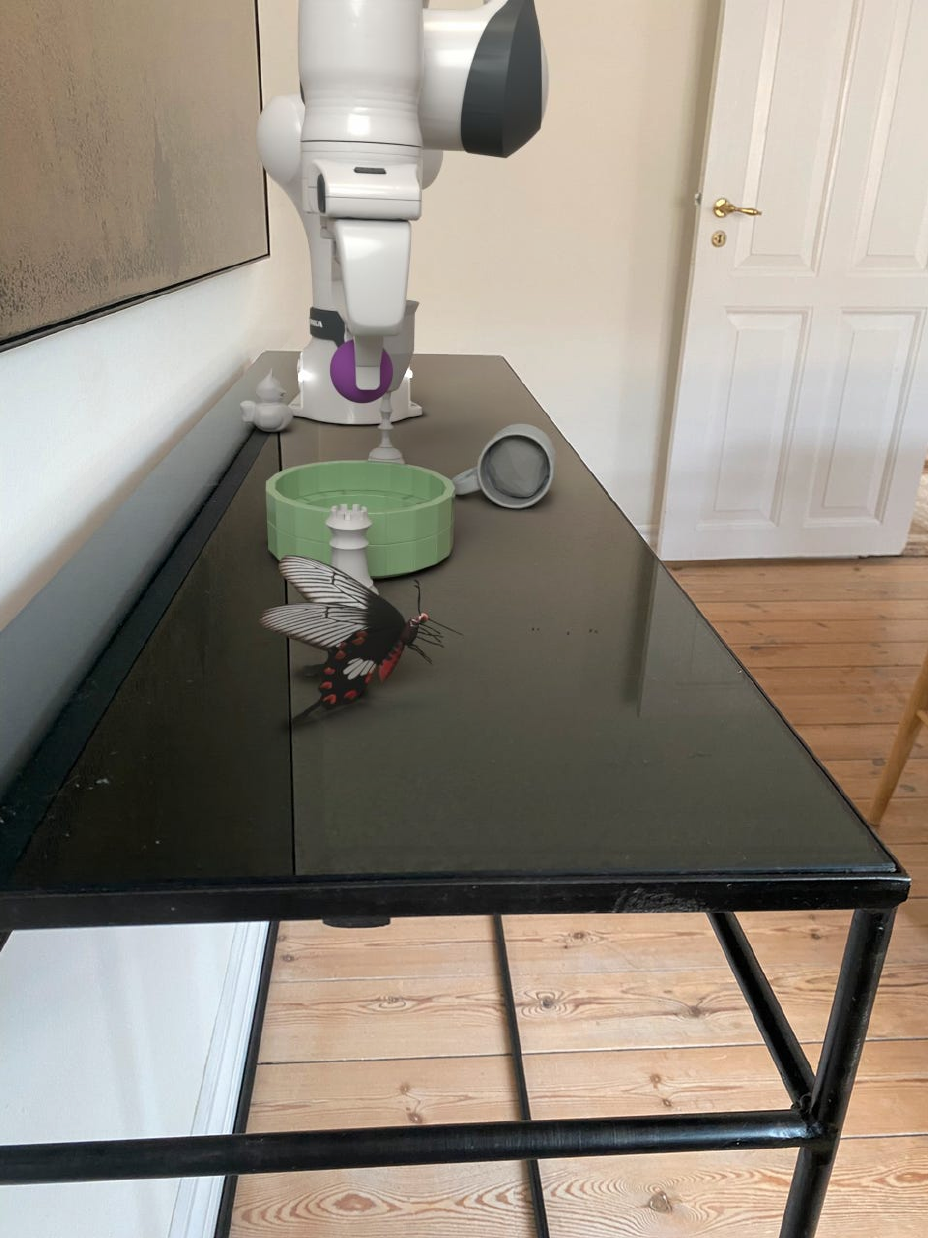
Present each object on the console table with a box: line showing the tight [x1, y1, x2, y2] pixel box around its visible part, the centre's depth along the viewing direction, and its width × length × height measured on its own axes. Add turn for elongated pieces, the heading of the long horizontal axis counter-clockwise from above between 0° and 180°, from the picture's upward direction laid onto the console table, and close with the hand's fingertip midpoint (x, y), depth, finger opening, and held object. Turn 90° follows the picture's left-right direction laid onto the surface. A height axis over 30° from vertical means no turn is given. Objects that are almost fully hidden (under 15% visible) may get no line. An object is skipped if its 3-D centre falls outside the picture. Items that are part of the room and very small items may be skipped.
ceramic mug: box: [450, 423, 557, 509], centre depth 95 cm, size 11×8×8 cm
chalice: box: [367, 299, 420, 464], centre depth 100 cm, size 7×7×18 cm
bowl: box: [265, 459, 456, 580], centre depth 79 cm, size 16×16×6 cm
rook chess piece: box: [325, 504, 380, 596], centre depth 66 cm, size 4×4×8 cm
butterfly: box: [258, 555, 464, 725], centre depth 54 cm, size 11×8×10 cm
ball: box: [330, 339, 393, 403], centre depth 74 cm, size 5×5×5 cm
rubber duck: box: [239, 368, 294, 433], centre depth 117 cm, size 5×7×8 cm
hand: (363, 381), depth 74 cm, fingers closed on ball, 5 cm apart
